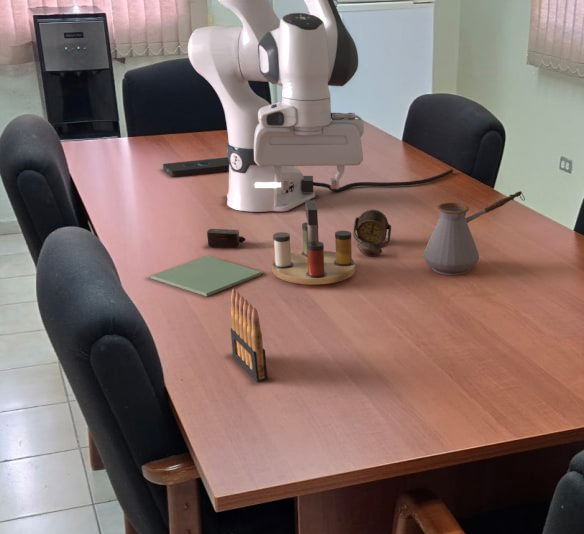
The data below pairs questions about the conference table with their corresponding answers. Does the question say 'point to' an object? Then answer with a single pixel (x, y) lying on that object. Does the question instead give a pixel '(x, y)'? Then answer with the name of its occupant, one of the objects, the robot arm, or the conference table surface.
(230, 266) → the sage mat
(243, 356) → the ammunition clip
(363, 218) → the vintage desk clock
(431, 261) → the coffee pot
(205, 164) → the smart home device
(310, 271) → the spice carousel
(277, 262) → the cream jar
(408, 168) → the conference table surface
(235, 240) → the black box with knob
